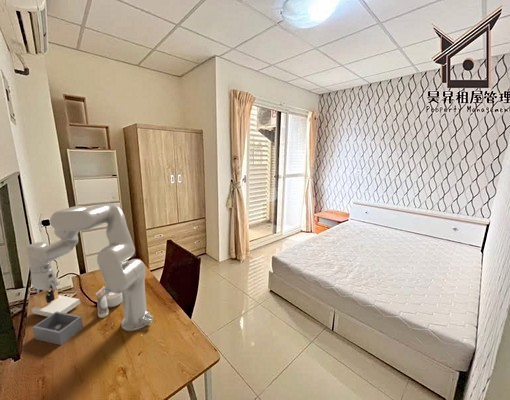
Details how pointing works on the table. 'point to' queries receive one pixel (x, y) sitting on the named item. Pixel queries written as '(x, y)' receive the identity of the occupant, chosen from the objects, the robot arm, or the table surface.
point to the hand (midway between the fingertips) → (47, 300)
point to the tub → (58, 328)
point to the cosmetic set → (107, 301)
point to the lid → (53, 304)
